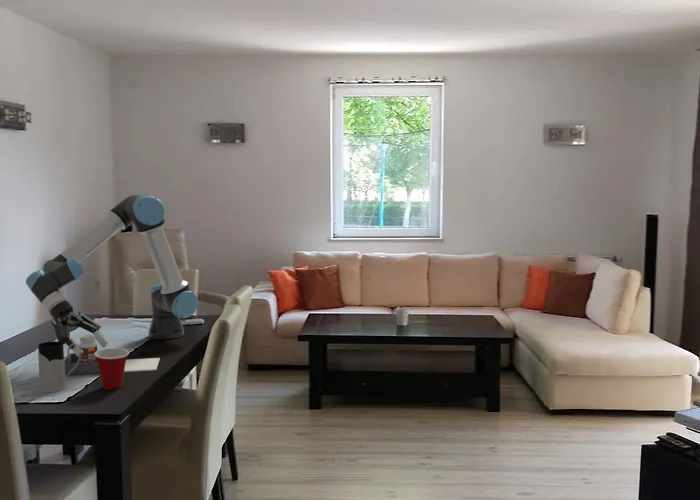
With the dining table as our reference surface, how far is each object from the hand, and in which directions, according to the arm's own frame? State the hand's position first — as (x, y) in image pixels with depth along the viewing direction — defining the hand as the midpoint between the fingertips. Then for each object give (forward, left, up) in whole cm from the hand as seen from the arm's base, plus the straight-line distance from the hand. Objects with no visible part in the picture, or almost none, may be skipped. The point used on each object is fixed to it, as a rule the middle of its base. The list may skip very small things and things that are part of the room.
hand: (93, 349), depth 248 cm
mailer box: (-6, -1, -7) cm, 9 cm away
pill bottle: (+2, -1, -7) cm, 7 cm away
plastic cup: (-10, +25, -7) cm, 28 cm away
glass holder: (+7, +21, -7) cm, 23 cm away
